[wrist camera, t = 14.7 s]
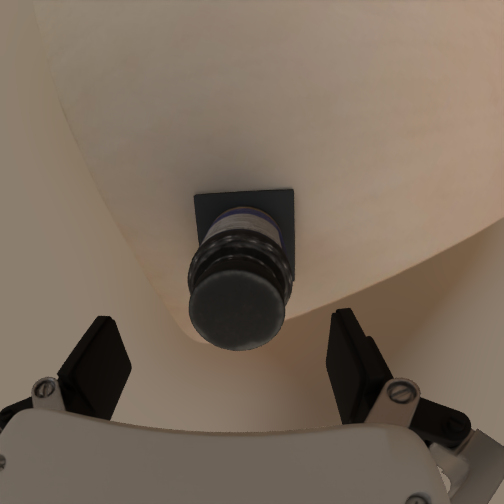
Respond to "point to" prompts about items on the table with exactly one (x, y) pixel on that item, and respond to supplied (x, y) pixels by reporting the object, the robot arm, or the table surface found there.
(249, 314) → the pill bottle
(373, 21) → the table surface
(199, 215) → the mat
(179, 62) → the table surface
